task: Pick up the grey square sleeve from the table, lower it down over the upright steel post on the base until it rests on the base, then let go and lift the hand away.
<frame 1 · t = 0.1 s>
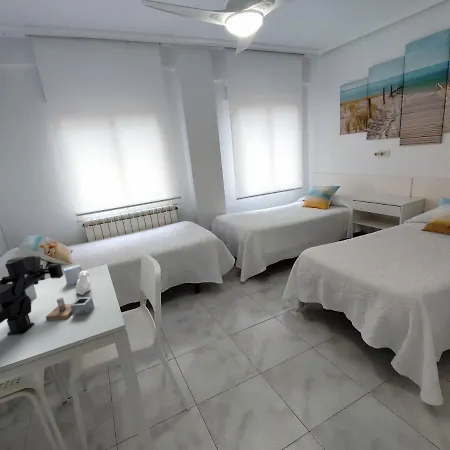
hand: (52, 264, 126), 17 cm above the table, tool horizontal, fingers open, 9 cm apart
skincare box: (30, 298, 132), on the table
grey square sleeve: (84, 311, 115), on the table
medicine box: (75, 282, 145), on the table
post stand: (63, 312, 115), on the table
bust: (84, 291, 134), on the table
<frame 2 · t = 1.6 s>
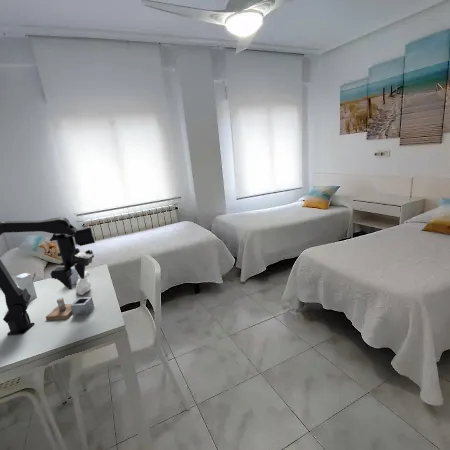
hand: (77, 283, 111), 13 cm above the table, tool pointing down, fingers open, 9 cm apart
nothing on the table moved.
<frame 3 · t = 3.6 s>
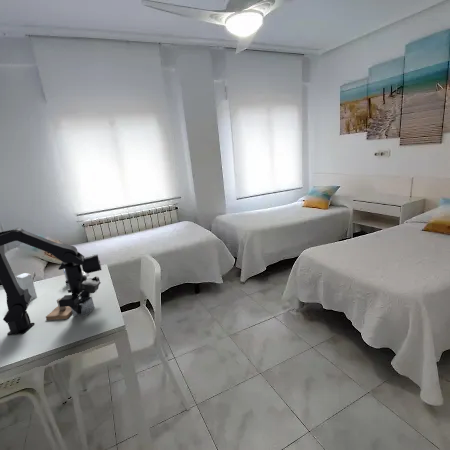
hand: (83, 309, 114), 1 cm above the table, tool pointing down, fingers closed on grey square sleeve, 6 cm apart
grey square sleeve: (84, 311, 115), on the table, touching gripper
everything else where it was.
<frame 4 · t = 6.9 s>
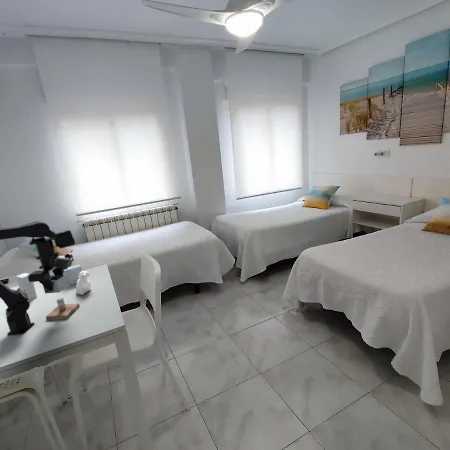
hand: (56, 287, 112), 12 cm above the table, tool pointing down, fingers closed on grey square sleeve, 6 cm apart
grey square sleeve: (56, 289, 112), point 11 cm above the table, touching gripper
everything else where it was.
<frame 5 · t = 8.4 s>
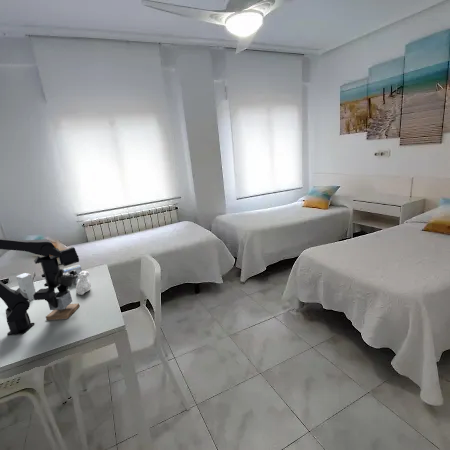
hand: (60, 303, 114), 5 cm above the table, tool pointing down, fingers closed on grey square sleeve, 6 cm apart
grey square sleeve: (61, 305, 114), point 4 cm above the table, touching gripper
everything else where it was.
when the fingers open (4 cm above the table, at t = 10.0 s): grey square sleeve stays where it is, resting on post stand.
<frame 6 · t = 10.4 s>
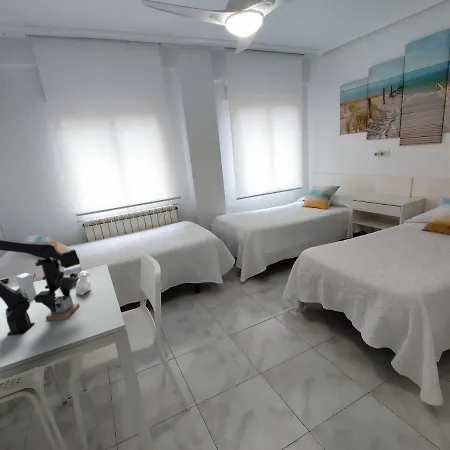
hand: (61, 305, 114), 4 cm above the table, tool pointing down, fingers open, 9 cm apart
grey square sleeve: (62, 309, 115), point 1 cm above the table, touching post stand
everything else where it was.
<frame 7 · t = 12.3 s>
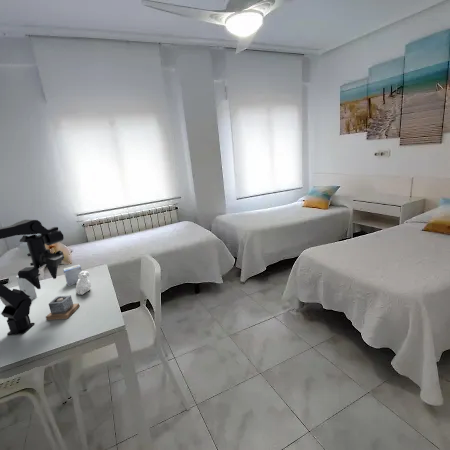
hand: (47, 283, 114), 13 cm above the table, tool pointing down, fingers open, 9 cm apart
nothing on the table moved.
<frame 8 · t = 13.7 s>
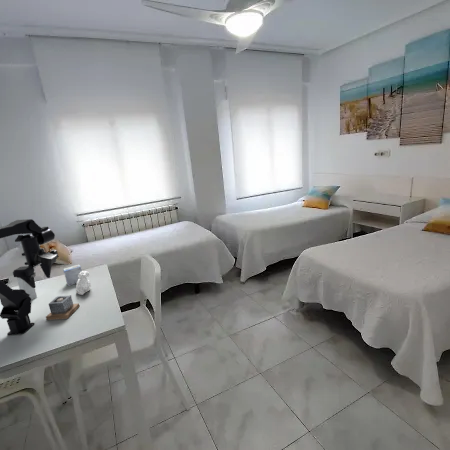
hand: (41, 282, 116), 13 cm above the table, tool pointing down, fingers open, 9 cm apart
nothing on the table moved.
at the end: grey square sleeve 0.0 cm off-centre on the post stand, point 1.5 cm above the post stand's base; grey square sleeve tilted 0°; the gripper is holding nothing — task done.
